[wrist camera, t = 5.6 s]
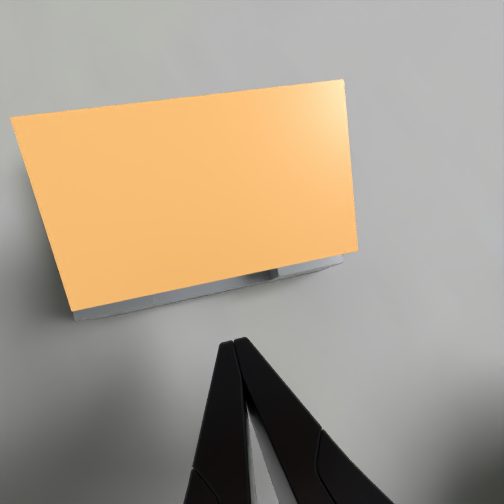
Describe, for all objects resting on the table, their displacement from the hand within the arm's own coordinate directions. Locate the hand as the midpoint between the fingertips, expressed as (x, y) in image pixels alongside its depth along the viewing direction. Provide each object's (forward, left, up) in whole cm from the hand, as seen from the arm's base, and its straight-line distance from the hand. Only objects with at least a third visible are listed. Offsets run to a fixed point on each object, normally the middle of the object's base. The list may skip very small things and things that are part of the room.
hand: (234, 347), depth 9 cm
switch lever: (+6, -3, -4) cm, 8 cm away
